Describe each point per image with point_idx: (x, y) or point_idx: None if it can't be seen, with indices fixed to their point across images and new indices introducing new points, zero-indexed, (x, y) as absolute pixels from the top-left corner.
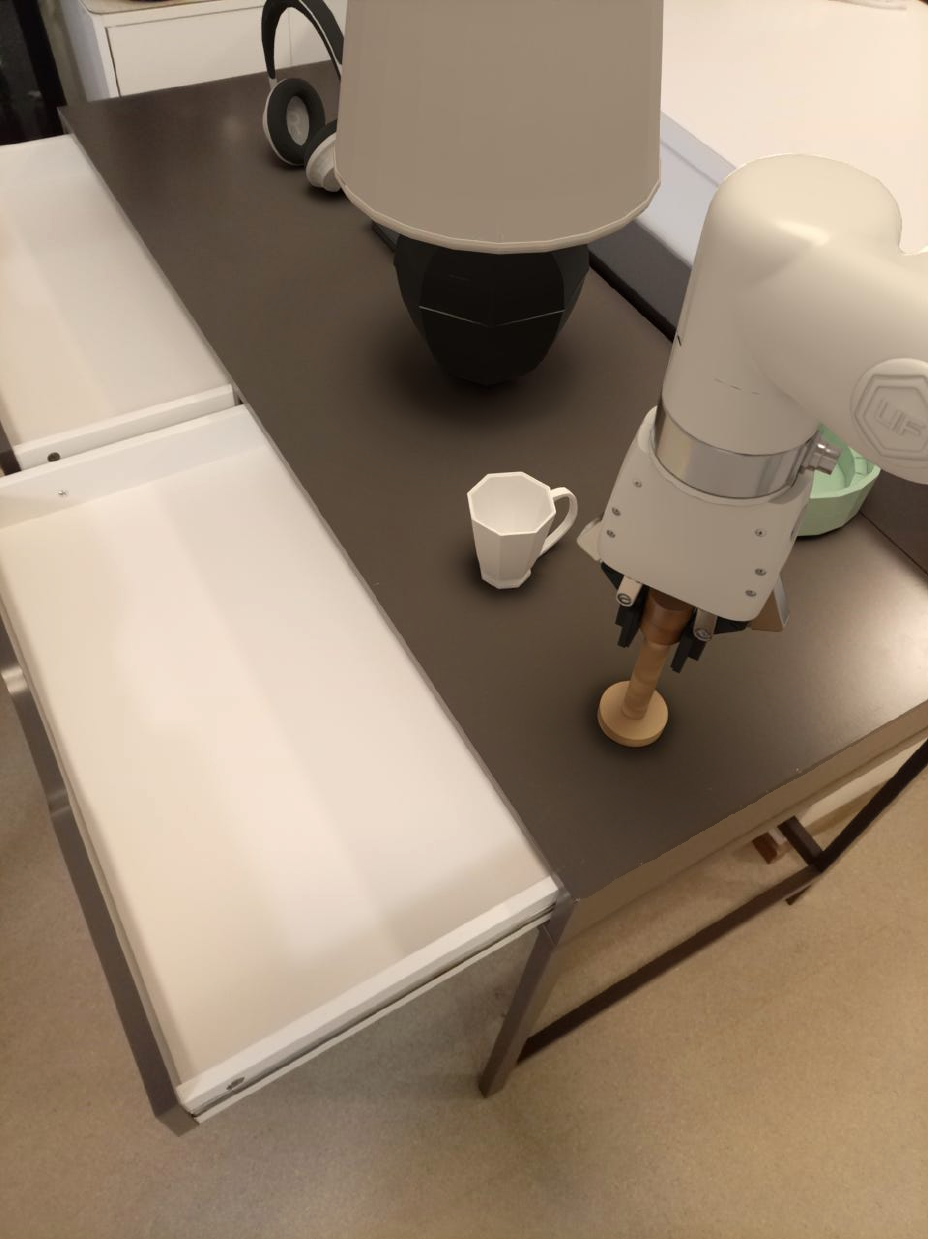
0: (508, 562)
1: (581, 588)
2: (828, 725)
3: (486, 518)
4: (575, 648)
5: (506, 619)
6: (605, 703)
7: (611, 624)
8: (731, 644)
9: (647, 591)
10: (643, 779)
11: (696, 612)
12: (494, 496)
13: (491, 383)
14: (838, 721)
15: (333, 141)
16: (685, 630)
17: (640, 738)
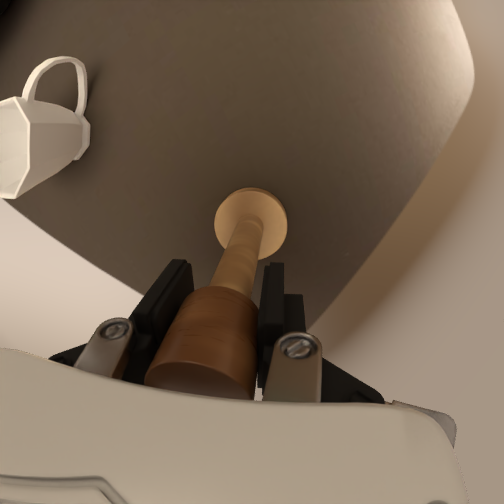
0: (53, 170)
1: (135, 103)
2: (428, 137)
3: (20, 139)
4: (165, 174)
5: (100, 184)
6: (221, 235)
7: (181, 124)
8: (312, 77)
9: (154, 343)
10: (289, 273)
11: (261, 345)
12: (4, 129)
13: (2, 9)
14: (434, 129)
15: None
16: (259, 384)
17: (270, 254)
